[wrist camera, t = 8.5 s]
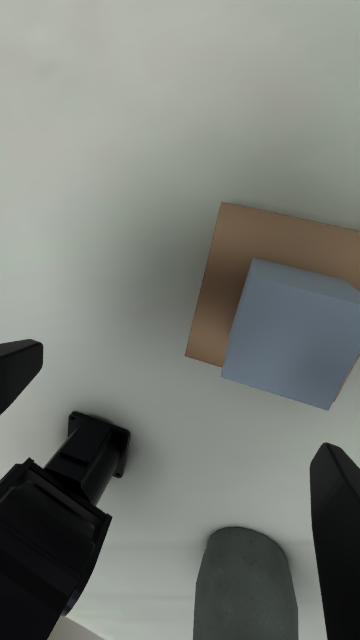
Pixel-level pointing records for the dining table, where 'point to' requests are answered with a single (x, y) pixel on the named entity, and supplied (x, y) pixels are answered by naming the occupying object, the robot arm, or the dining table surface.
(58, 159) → the dining table surface
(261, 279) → the cube
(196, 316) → the base
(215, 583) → the grey bottle
